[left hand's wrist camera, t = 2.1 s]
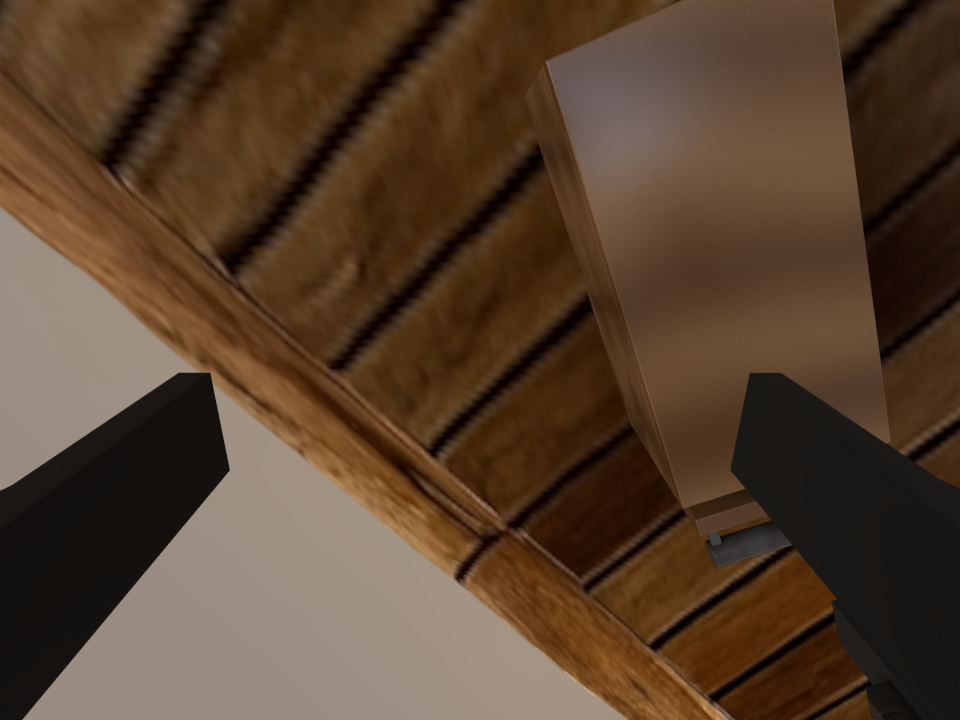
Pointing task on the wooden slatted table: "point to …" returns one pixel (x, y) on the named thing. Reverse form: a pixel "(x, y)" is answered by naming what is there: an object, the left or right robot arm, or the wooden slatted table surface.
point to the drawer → (730, 514)
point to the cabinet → (714, 220)
